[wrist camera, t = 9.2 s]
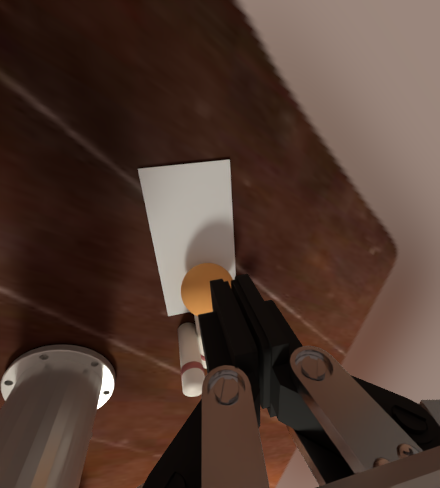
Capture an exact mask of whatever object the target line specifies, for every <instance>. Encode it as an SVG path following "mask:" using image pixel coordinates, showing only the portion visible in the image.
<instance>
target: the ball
mask: <svg viewBox="0 0 440 488" xmlns="http://www.w3.org/2000/svg"><path fill="white" fill-rule="evenodd" d="M217 279H223V281H228V282H229V285H230V287H231V280H233V279H232V277H231V275H230V274H229V272H228V271H227V270H226V269H224V268H223V267H222V266H220V265H217V264H214V263H203V264H199V265H197V266H195V267H193V268H192V269H190V270H189V271H188V272H187V274H186V275H185V277H184V279H183V281H182V285H181V297H182V301H183V303H184V305H185V306H186V308H187V309H188V310H189V311H190V312H191V313H192V314H194V315H196V316H198V315H199V314H204V313H209V312H213V309H212V299H211V290H210V281H211V280H217Z"/></svg>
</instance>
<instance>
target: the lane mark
mask: <svg viewBox="0 0 440 488" xmlns="http://www.w3.org/2000/svg"><path fill="white" fill-rule="evenodd" d="M138 172H139V177H140V182H141V187H142V192H143V197H144V201H145V206H146V211H147V216H148V221H149V225H150V230H151V235H152V240H153V245H154V250H155V254H156V259H157V264H158V269H159V274H160V278H161V283H162V288H163V293H164V298H165V303H166V307H167V312H168V316H172V315H177V314H182V313H187V312H190V311H189V310H188V309H187V308H186V306H185V305H184V303H183V301H182V297H181V285H182V281H183V279H184V277H185V275H186V274H187V272H188V271H189V270H190V269H192V268H193V267H195V266H197V265H199V264H203V263H214V264H217V265H220V266H222V267H223V268H224V269H226V270H227V271H228V272H229V274H230V275H231V277H232V279H233V280H235V276H236V270H235V250H234V231H233V212H232V193H231V173H230V159H228V160H218V161H209V162H199V163H189V164H179V165H169V166H160V167H150V168H140V169H138Z"/></svg>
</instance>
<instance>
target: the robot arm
mask: <svg viewBox="0 0 440 488" xmlns="http://www.w3.org/2000/svg"><path fill="white" fill-rule="evenodd" d="M210 290H211V299H212V309H213V312H209V313H204V314H199V315H198V320H199V327H200V334H201V340H202V345H203V351H204V356H205V361H206V366H207V372H208V374H207V375H206V377H205V379H204V381H203V385H202V399H201V401H200V402H199V403H198V405H197V406H196V408H195V409H194V411H193V412H192V414H191V415H190V416H189V418H188V419H187V421H186V422H185V424H184V425H183V427H182V428H181V429H180V431H179V432H178V434H177V435H176V437H175V438H174V440H173V441H172V442H171V444H170V445H169V447H168V448H167V450H166V451H165V453H164V454H163V455H162V457H161V458H160V460H159V461H158V463H157V464H156V466H155V467H154V468H153V470H152V471H151V473H150V474H149V476H148V478H147V479H146V481H145V483H143V484H142V485H140V486H138V487H137V488H269V482H268V477H267V472H266V466H265V461H264V455H263V450H262V445H261V439H260V434H259V427H260V405H261V407H262V408H263V409H264V408H267V409H268V412H269V415H270V417H274V416H277V418H278V420H279V421H280V422H282V423H284V424H286V427H287V429H288V431H289V434H290V435H291V437H292V439H293V441H294V442H295V444H296V446H297V448H298V449H299V451H300V453H301V455H302V456H303V458H304V460H305V462H306V463H307V465H308V467H309V468H310V470H311V472H312V474H313V476H314V477H315V479H316V481H317V482H318V484H319V487H317V488H440V400H421V402H420V404H417V403H415V402H413V401H412V400H410V399H408V398H405V397H403V396H400V395H398V394H395V393H393V392H391V391H388V390H385V389H383V388H381V387H378V386H376V385H373V384H371V383H368V382H366V381H364V380H361V379H359V378H356V377H354V376H351V375H350V374H349V373H348V372H347V371H346V370H345V369H344V368H343V367H342V366H341V365H340V364H339V363H338V362H337V361H336V360H335V359H334V358H333V357H332V356H331V355H330V354H329V353H327V352H326V351H324V350H322V349H320V348H317V347H314V346H302V344H301V343H300V341H299V340H298V338H297V337H296V335H295V334H294V332H293V331H292V329H291V328H290V326H289V325H288V323H287V321H286V320H285V318H284V317H283V315H282V314H281V312H280V311H279V309H278V308H277V306H276V305H275V303H274V302H273V301H272V300H268V301H264V300H263V298H262V297H261V295H260V293H259V292H258V290H257V288H256V287H255V285H254V283H253V282H252V280H251V278H250V277H249V275H248V274H244V275H239V276H235V280H231V287H230V285H229V282H228V281H223V279H217V280H211V281H210ZM115 381H116V376H115V371H114V368H113V366H112V365H111V364H110V362H109V361H108V360H107V359H106V358H105V357H104V356H102V355H101V354H99V353H97V352H95V351H93V350H90V349H88V348H85V347H80V346H76V345H66V344H63V345H49V346H44V347H40V348H36V349H33V350H31V351H29V352H26V353H24V354H22V355H21V356H20V357H18V358H17V359H16V360H14V361H13V363H12V364H11V365H10V366H9V367H8V369H7V371H6V372H5V374H4V375H3V377H2V380H1V392H2V395H3V398H4V399H5V400H6V401H5V403H4V404H3V406H2V408H1V410H0V488H79V484H80V480H81V476H82V471H83V467H84V463H85V458H86V454H87V450H88V445H89V441H90V439H91V437H92V428H93V424H94V419H95V415H96V411H97V409H98V408H99V407H101V406H102V405H104V404H105V403H106V402H107V401H108V399H109V398H110V396H111V395H112V393H113V390H114V387H115Z"/></svg>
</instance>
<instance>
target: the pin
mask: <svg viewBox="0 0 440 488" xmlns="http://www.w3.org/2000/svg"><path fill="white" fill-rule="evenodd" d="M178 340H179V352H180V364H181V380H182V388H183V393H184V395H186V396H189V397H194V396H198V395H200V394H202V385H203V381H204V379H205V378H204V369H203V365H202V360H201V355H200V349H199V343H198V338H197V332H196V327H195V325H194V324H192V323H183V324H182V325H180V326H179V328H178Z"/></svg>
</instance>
